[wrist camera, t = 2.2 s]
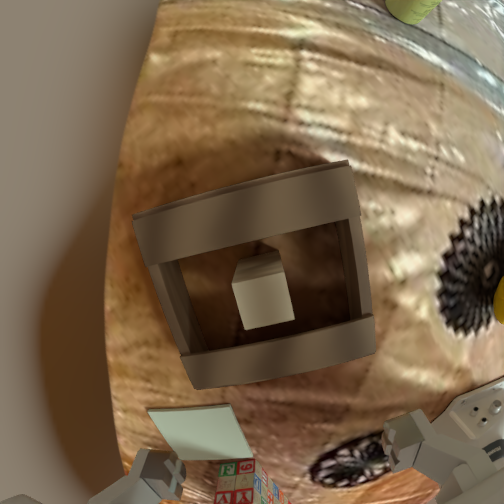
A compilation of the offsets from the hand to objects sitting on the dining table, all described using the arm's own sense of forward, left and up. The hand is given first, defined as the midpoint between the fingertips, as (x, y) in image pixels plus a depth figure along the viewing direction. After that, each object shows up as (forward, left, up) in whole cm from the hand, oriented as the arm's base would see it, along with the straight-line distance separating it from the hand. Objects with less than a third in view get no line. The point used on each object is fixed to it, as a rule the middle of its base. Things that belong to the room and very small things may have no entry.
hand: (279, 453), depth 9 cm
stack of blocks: (+10, +40, -21) cm, 46 cm away
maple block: (0, -1, -20) cm, 20 cm away
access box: (0, -1, -20) cm, 20 cm away
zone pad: (+14, +21, -20) cm, 33 cm away
